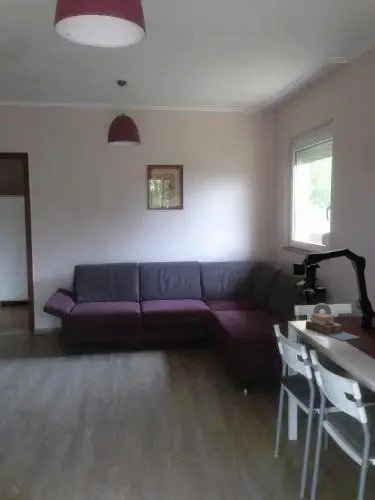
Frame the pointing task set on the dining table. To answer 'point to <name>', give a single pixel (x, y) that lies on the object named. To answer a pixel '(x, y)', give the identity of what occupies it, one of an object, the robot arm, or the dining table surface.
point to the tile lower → (322, 322)
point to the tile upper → (322, 317)
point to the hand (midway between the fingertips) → (309, 304)
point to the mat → (342, 336)
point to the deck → (324, 327)
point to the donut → (322, 306)
